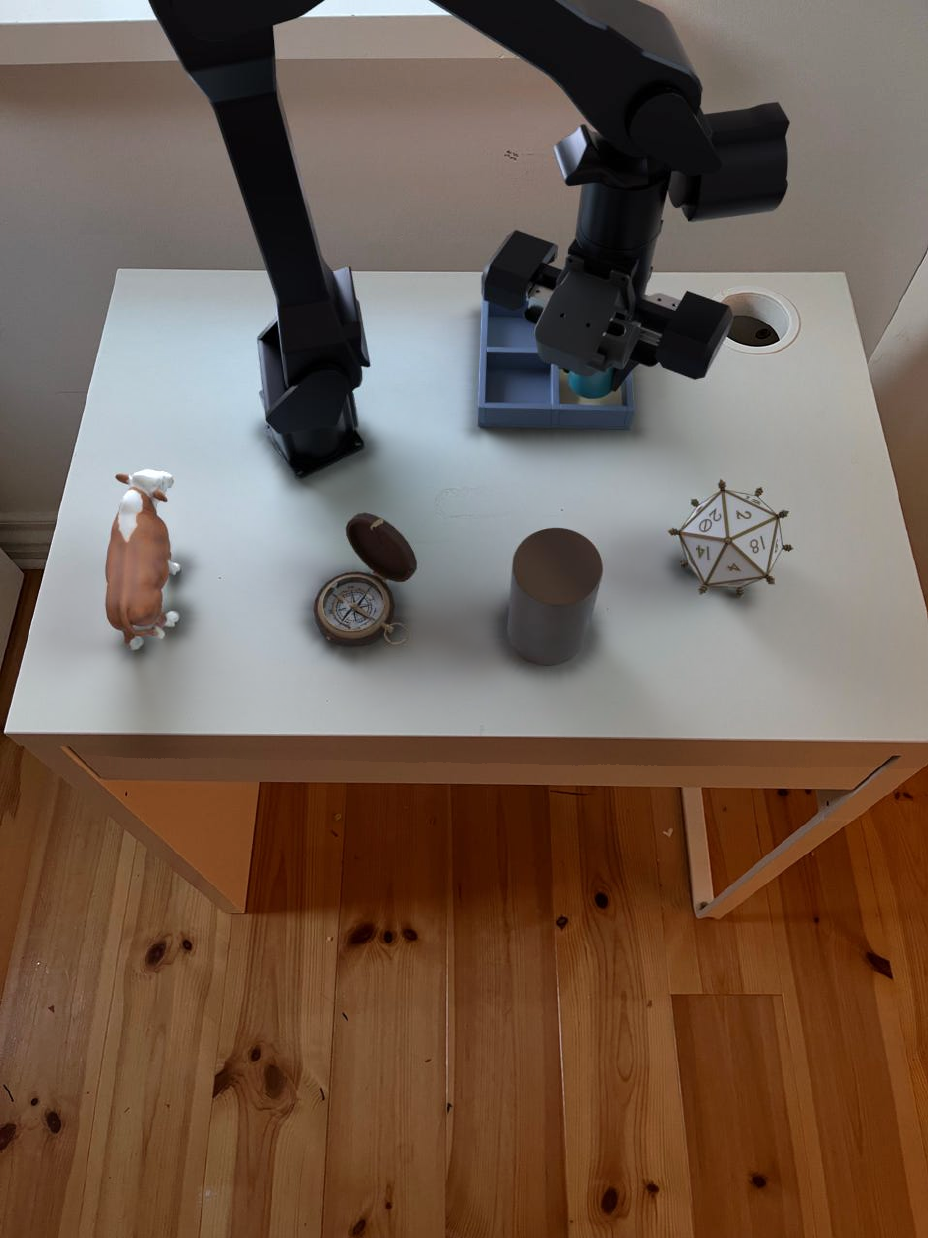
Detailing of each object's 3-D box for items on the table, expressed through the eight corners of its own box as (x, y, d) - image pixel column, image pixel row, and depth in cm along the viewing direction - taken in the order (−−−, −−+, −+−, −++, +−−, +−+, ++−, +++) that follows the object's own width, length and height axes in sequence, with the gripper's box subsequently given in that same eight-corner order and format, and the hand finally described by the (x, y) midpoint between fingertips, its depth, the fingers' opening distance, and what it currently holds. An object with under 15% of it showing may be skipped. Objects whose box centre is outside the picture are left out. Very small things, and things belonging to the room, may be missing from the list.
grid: (477, 426, 77) (478, 407, 75) (481, 315, 83) (482, 294, 80) (630, 429, 76) (634, 411, 74) (623, 317, 82) (627, 297, 80)
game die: (706, 611, 72) (695, 623, 63) (659, 517, 73) (641, 516, 64) (813, 561, 69) (818, 566, 60) (763, 464, 70) (760, 454, 61)
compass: (298, 622, 68) (279, 574, 62) (362, 549, 71) (350, 496, 65) (381, 677, 66) (371, 633, 60) (443, 599, 69) (440, 549, 63)
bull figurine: (201, 514, 73) (171, 452, 66) (175, 665, 67) (139, 614, 59) (147, 514, 73) (111, 452, 66) (116, 665, 67) (73, 614, 59)
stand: (536, 679, 66) (545, 621, 57) (492, 618, 68) (495, 553, 60) (602, 640, 67) (621, 577, 59) (557, 581, 70) (568, 513, 61)
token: (586, 406, 75) (591, 372, 71) (558, 375, 76) (562, 341, 73) (624, 386, 76) (632, 352, 72) (596, 356, 77) (602, 321, 74)
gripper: (444, 250, 61) (449, 404, 75) (703, 345, 57) (657, 490, 71) (517, 155, 65) (509, 317, 79) (762, 237, 61) (708, 393, 75)
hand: (591, 378), depth 76 cm, fingers closed on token, 4 cm apart
